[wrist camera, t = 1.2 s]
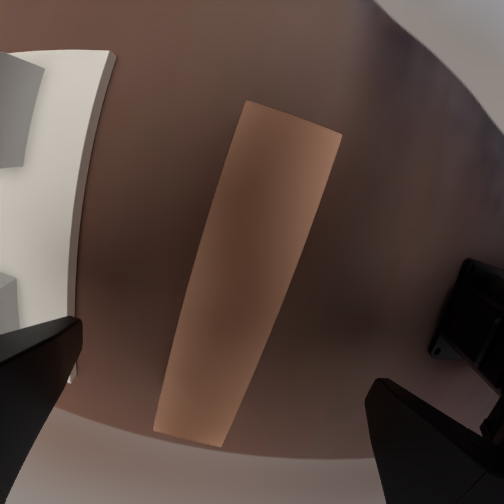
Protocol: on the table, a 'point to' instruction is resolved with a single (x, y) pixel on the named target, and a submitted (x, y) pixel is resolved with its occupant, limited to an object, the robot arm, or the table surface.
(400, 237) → the table surface
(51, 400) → the robot arm
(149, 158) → the table surface
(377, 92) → the table surface
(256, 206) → the terracotta bar
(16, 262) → the display stand
